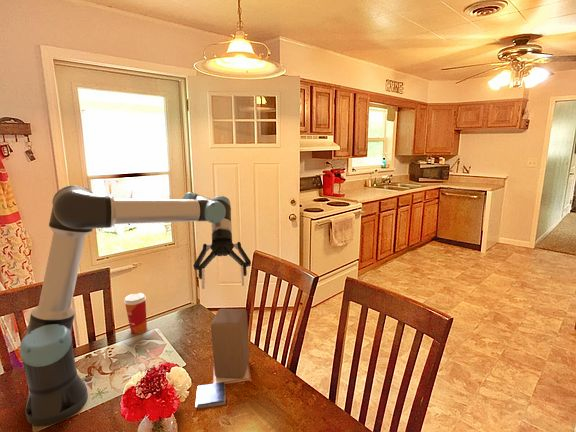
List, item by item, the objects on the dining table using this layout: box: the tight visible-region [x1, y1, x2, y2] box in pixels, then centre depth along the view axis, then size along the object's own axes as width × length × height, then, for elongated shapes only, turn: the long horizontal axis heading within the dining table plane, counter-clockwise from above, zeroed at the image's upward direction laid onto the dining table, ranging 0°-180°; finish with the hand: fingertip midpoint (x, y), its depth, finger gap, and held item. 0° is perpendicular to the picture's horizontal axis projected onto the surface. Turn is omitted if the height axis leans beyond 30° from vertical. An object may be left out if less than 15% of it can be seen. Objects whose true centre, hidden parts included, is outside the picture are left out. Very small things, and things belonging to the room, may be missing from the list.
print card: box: [212, 361, 252, 385], centre depth 113 cm, size 12×12×1 cm
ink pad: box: [195, 382, 227, 410], centre depth 102 cm, size 8×8×1 cm
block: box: [210, 308, 250, 378], centre depth 111 cm, size 10×10×20 cm
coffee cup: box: [123, 292, 148, 335], centre depth 137 cm, size 8×8×15 cm
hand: (223, 285), depth 117 cm, fingers open, 13 cm apart
